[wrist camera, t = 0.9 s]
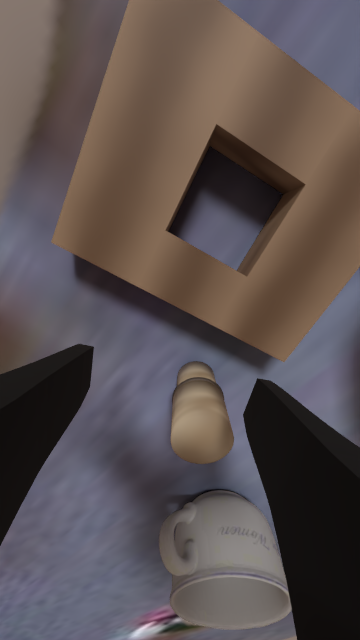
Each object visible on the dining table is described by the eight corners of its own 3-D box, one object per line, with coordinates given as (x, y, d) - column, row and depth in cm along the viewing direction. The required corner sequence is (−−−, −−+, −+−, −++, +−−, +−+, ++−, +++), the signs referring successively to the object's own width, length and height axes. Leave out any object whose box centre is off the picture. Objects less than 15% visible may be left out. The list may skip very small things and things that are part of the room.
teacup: (277, 516, 28) (314, 620, 20) (202, 545, 30) (209, 649, 22) (221, 444, 24) (239, 540, 16) (138, 483, 26) (121, 584, 18)
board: (389, 182, 15) (436, 170, 13) (269, 344, 20) (284, 362, 17) (154, 10, 13) (147, -55, 10) (72, 241, 17) (51, 242, 14)
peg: (226, 369, 21) (247, 431, 14) (203, 401, 22) (213, 472, 15) (186, 350, 20) (189, 405, 13) (166, 384, 21) (159, 450, 15)
